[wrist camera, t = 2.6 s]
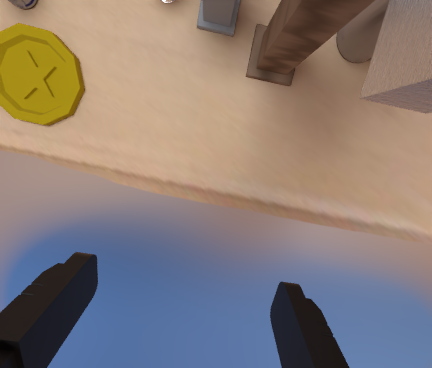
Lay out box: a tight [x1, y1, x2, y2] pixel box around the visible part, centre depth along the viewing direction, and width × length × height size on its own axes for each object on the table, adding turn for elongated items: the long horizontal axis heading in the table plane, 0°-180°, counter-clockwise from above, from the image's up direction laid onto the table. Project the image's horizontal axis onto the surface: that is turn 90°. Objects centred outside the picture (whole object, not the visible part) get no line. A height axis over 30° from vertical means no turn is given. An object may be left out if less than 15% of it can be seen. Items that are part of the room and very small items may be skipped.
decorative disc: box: [0, 23, 85, 125], centre depth 41 cm, size 17×18×2 cm
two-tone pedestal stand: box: [246, 0, 375, 86], centre depth 26 cm, size 9×11×34 cm
